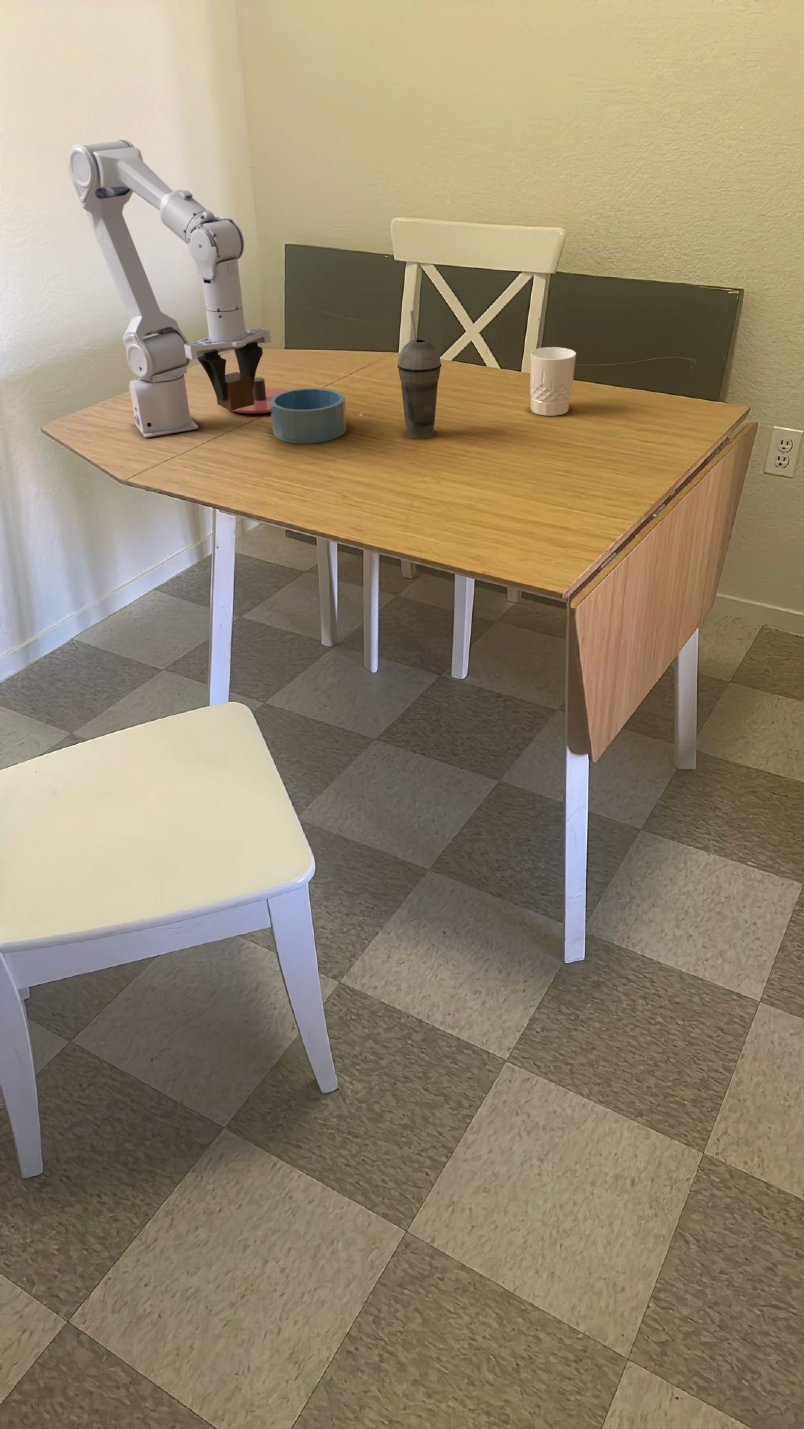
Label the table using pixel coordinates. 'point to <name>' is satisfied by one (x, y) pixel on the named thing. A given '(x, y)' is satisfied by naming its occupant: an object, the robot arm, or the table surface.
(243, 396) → the block
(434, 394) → the beverage cup
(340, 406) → the bowl
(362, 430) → the table surface
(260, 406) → the lid
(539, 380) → the white cup
